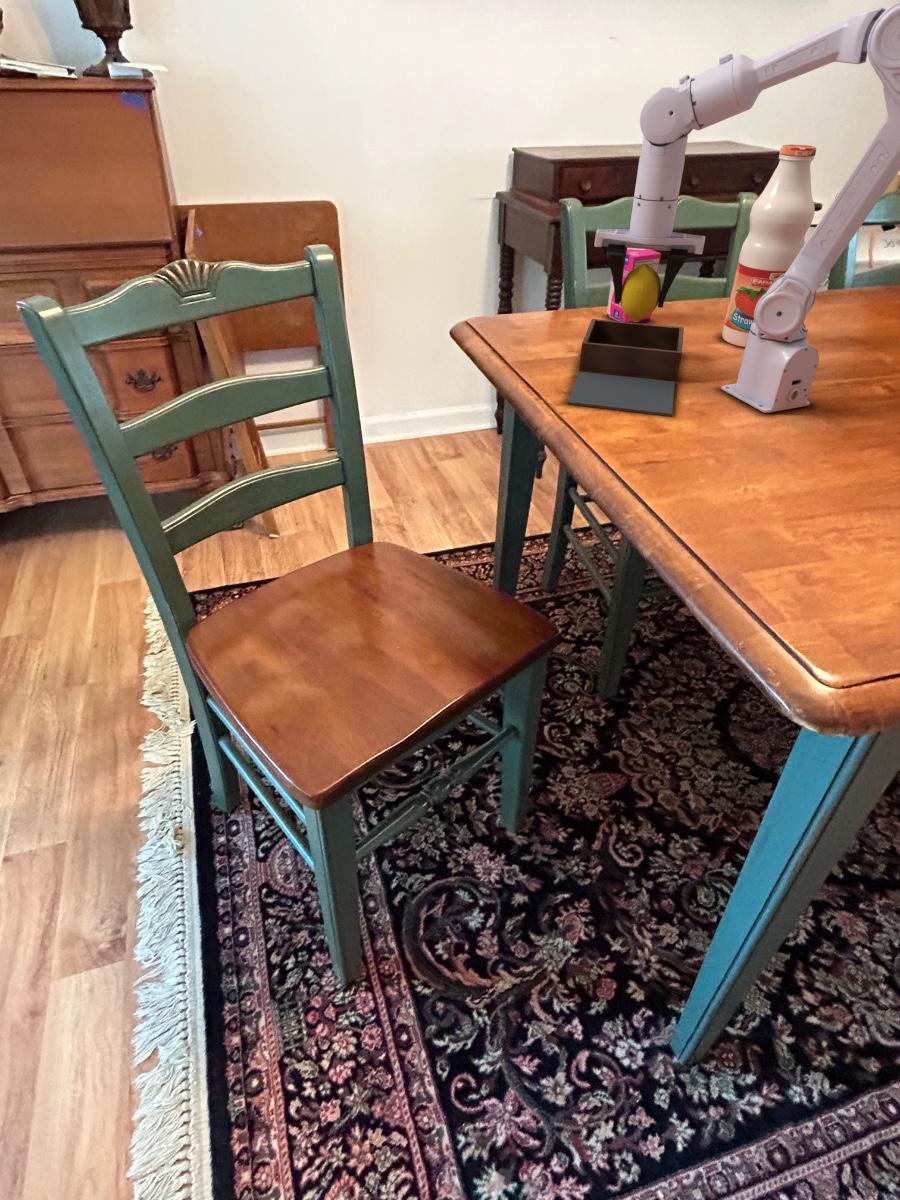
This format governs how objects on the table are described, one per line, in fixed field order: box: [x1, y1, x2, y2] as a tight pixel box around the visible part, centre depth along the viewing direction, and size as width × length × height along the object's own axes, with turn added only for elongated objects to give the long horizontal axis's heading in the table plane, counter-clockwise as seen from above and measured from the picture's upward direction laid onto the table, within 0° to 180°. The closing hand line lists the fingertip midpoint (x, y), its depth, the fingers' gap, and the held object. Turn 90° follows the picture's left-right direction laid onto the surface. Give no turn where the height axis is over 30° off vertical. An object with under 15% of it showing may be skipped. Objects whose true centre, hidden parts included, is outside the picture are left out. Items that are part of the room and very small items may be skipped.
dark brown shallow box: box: [578, 318, 685, 383], centre depth 114 cm, size 14×12×4 cm
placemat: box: [567, 371, 676, 417], centre depth 105 cm, size 14×12×1 cm
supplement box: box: [606, 248, 662, 324], centre depth 130 cm, size 6×6×12 cm
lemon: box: [620, 264, 662, 322], centre depth 106 cm, size 6×6×8 cm
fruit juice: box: [721, 144, 817, 348], centre depth 116 cm, size 9×9×28 cm
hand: (639, 303), depth 107 cm, fingers closed on lemon, 5 cm apart
